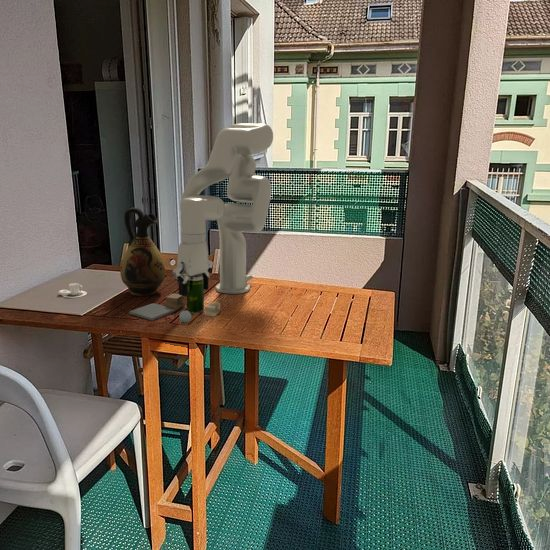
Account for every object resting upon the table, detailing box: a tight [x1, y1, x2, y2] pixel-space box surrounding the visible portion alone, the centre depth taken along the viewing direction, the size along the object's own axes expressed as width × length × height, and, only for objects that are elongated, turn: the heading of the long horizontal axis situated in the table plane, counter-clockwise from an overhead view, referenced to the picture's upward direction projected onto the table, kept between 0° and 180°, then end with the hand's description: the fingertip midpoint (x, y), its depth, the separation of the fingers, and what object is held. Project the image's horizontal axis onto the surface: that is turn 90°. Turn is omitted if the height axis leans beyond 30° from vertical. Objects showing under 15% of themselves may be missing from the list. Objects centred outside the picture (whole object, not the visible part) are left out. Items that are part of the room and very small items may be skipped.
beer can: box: [186, 274, 205, 315], centre depth 155 cm, size 5×5×12 cm
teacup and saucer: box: [58, 282, 88, 299], centre depth 170 cm, size 9×8×4 cm
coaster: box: [128, 302, 176, 321], centre depth 154 cm, size 10×10×1 cm
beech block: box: [204, 301, 221, 317], centre depth 155 cm, size 5×3×3 cm, turn 165°
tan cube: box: [165, 293, 185, 311], centre depth 160 cm, size 4×4×4 cm
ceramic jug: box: [119, 206, 166, 297], centre depth 171 cm, size 17×15×30 cm
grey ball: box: [178, 310, 192, 323], centre depth 147 cm, size 4×4×4 cm
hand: (193, 292), depth 154 cm, fingers open, 9 cm apart
